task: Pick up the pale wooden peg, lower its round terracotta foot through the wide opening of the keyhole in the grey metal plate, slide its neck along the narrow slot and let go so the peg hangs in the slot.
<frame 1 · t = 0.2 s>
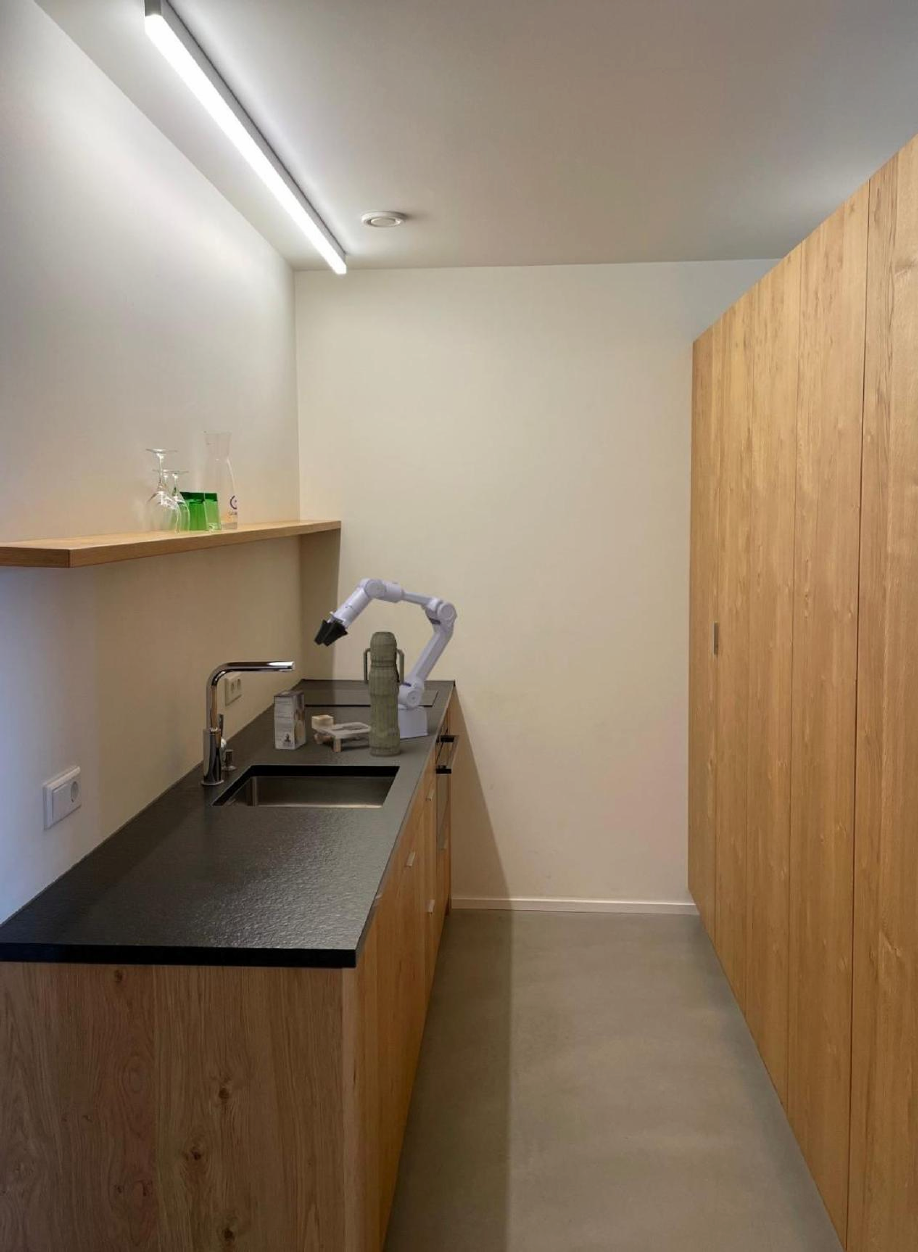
hand: (320, 643, 283), 31 cm above the counter, tool tilted 45°, fingers open, 7 cm apart
peg: (322, 738, 296), on the counter
thermos: (385, 753, 277), on the counter
coffee box: (290, 746, 287), on the counter
keyhole stand: (347, 744, 288), on the counter
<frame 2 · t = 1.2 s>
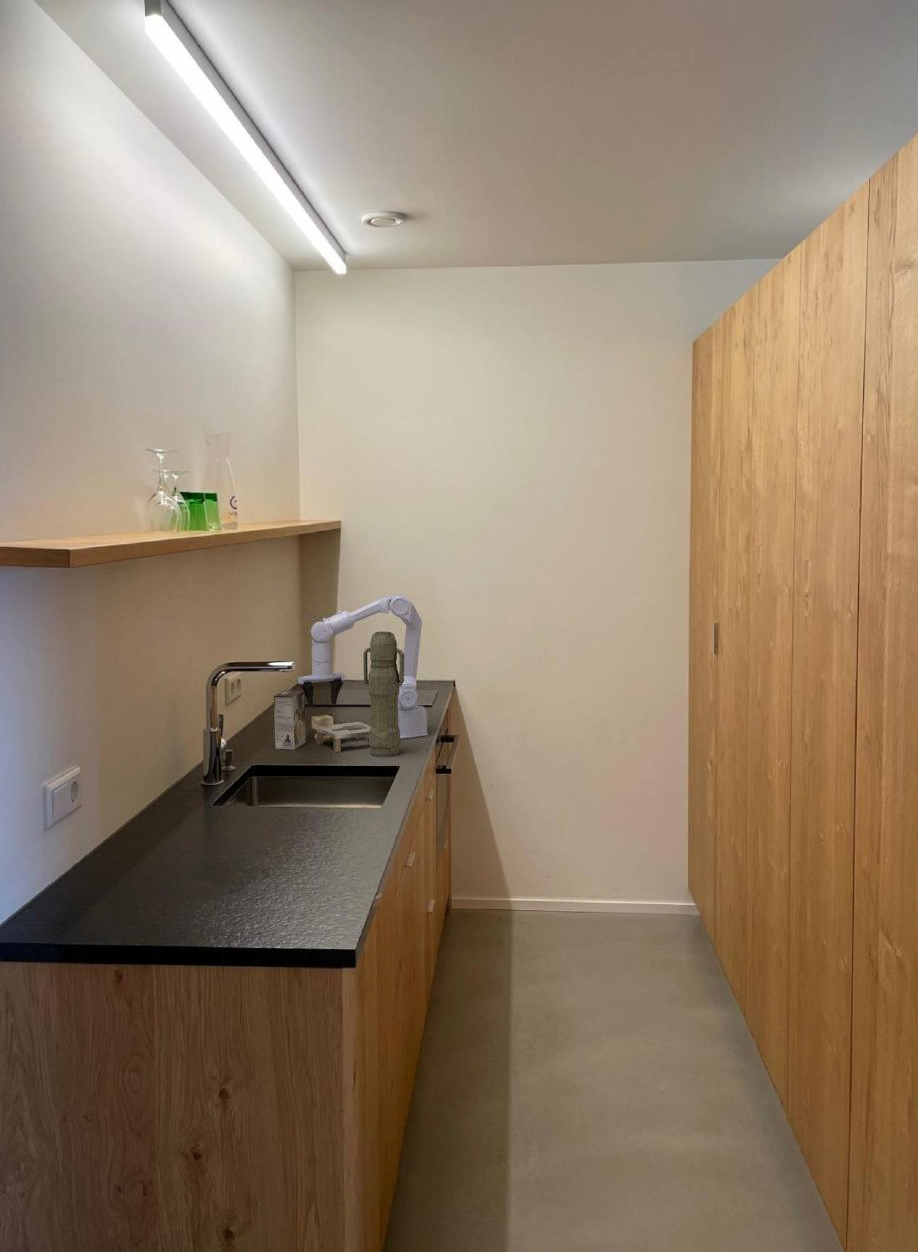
hand: (322, 705, 295), 10 cm above the counter, tool pointing down, fingers open, 7 cm apart
nothing on the counter moved.
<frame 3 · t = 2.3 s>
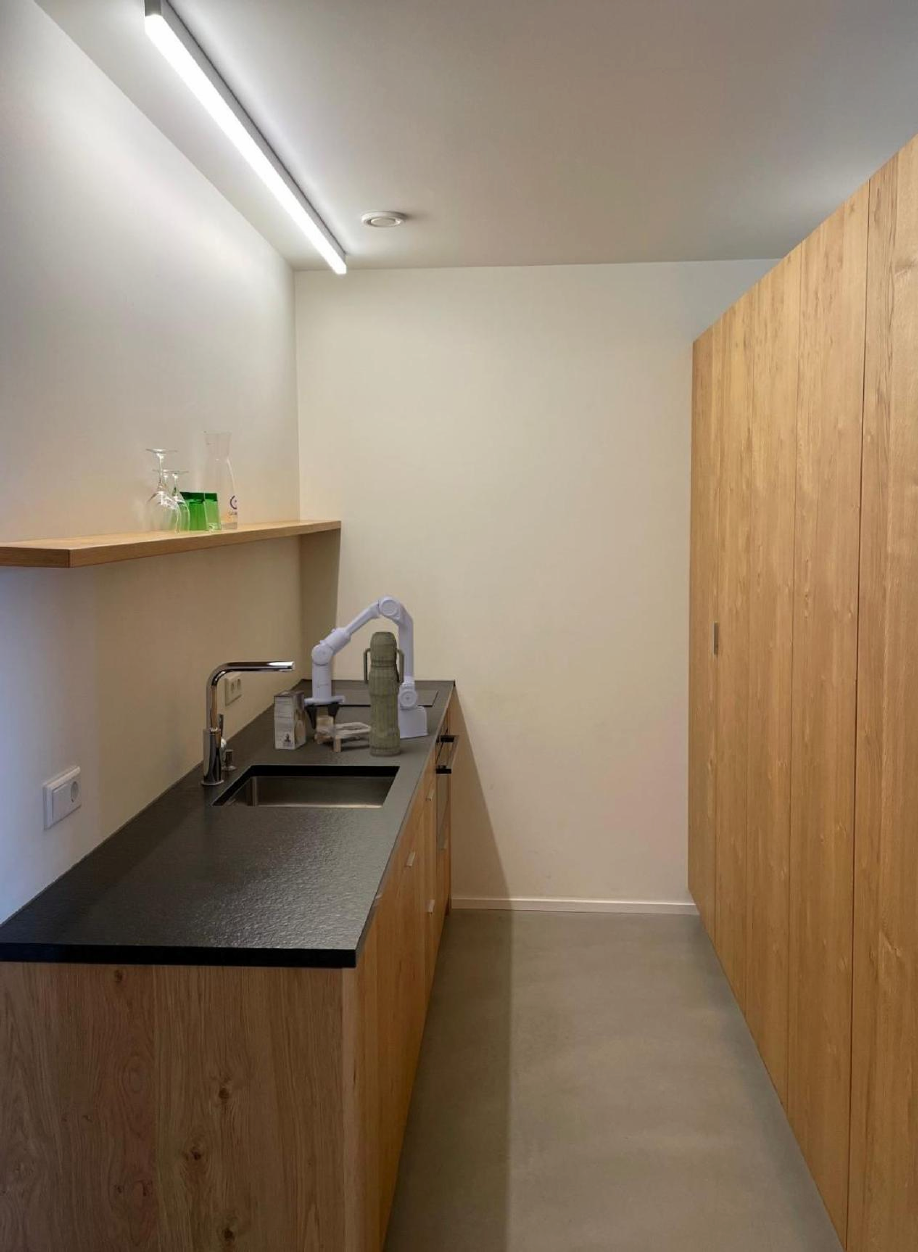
hand: (322, 727, 296), 3 cm above the counter, tool pointing down, fingers closed on peg, 5 cm apart
peg: (322, 738, 296), on the counter, touching gripper
everything else where it was.
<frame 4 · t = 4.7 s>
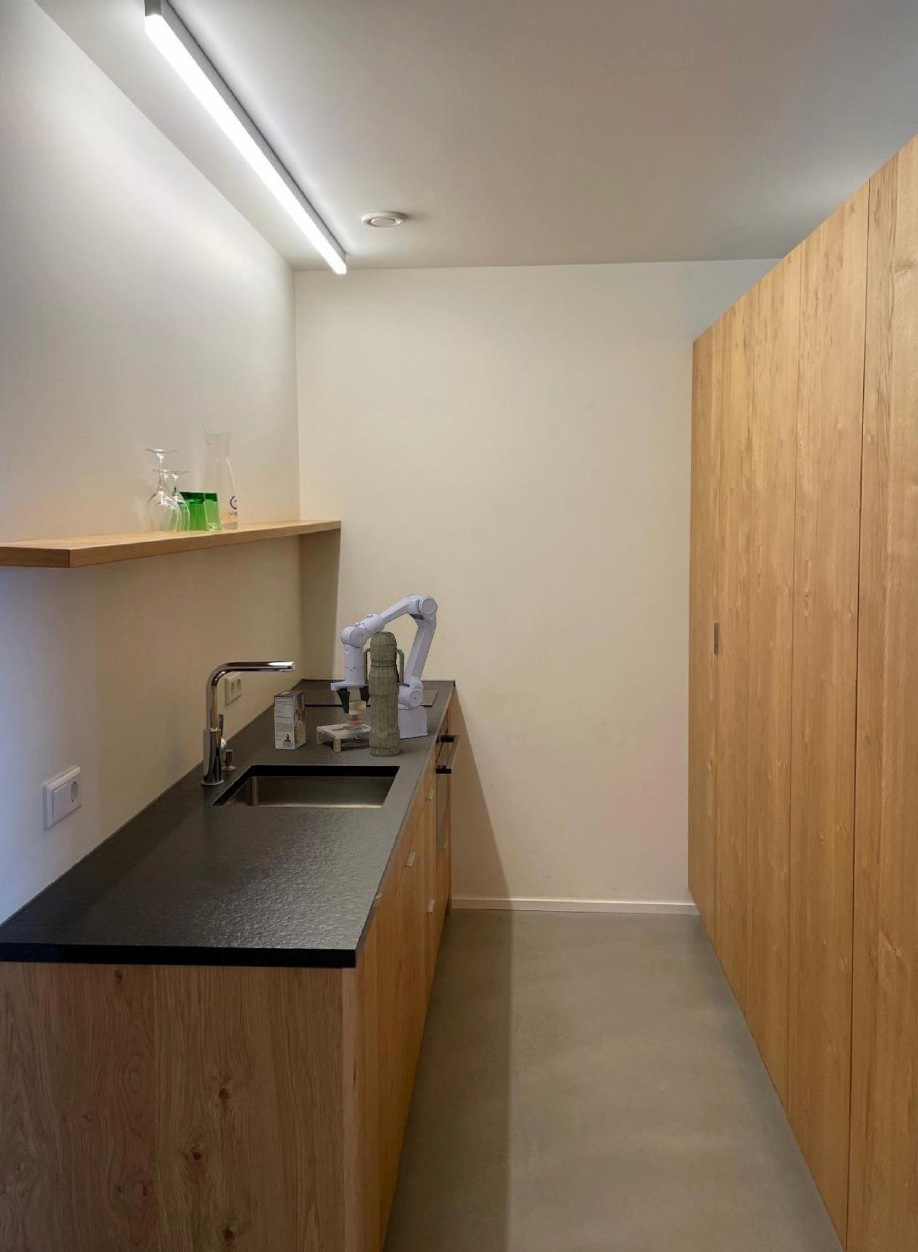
hand: (355, 712, 288), 10 cm above the counter, tool pointing down, fingers closed on peg, 5 cm apart
peg: (355, 723, 288), point 6 cm above the counter, touching gripper
everything else where it was.
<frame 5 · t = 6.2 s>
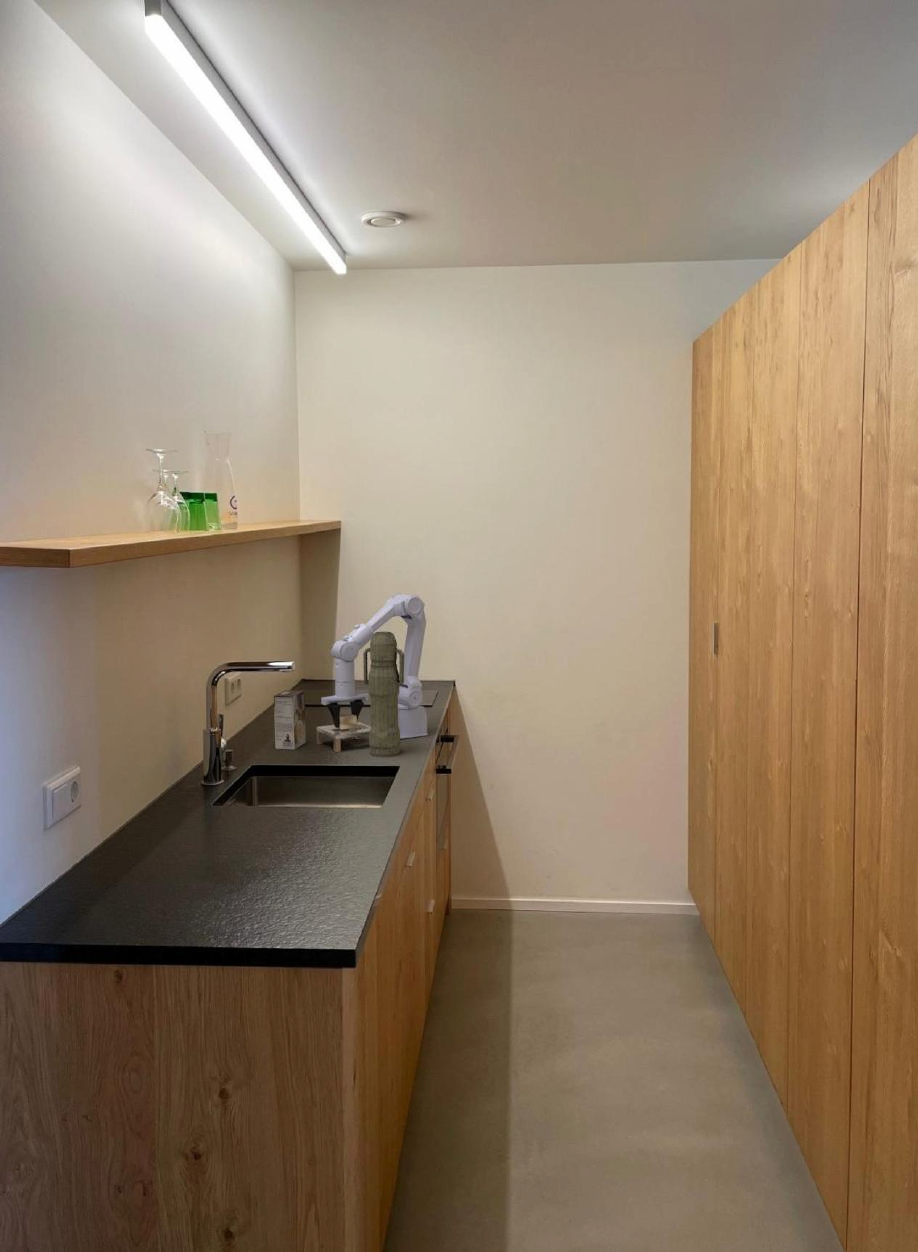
hand: (345, 726, 287), 6 cm above the counter, tool pointing down, fingers closed on peg, 5 cm apart
peg: (345, 737, 287), point 2 cm above the counter, touching gripper
everything else where it was.
when the fingers open (6 cm above the counter, at t = 7.4 s): peg stays where it is, resting on keyhole stand.
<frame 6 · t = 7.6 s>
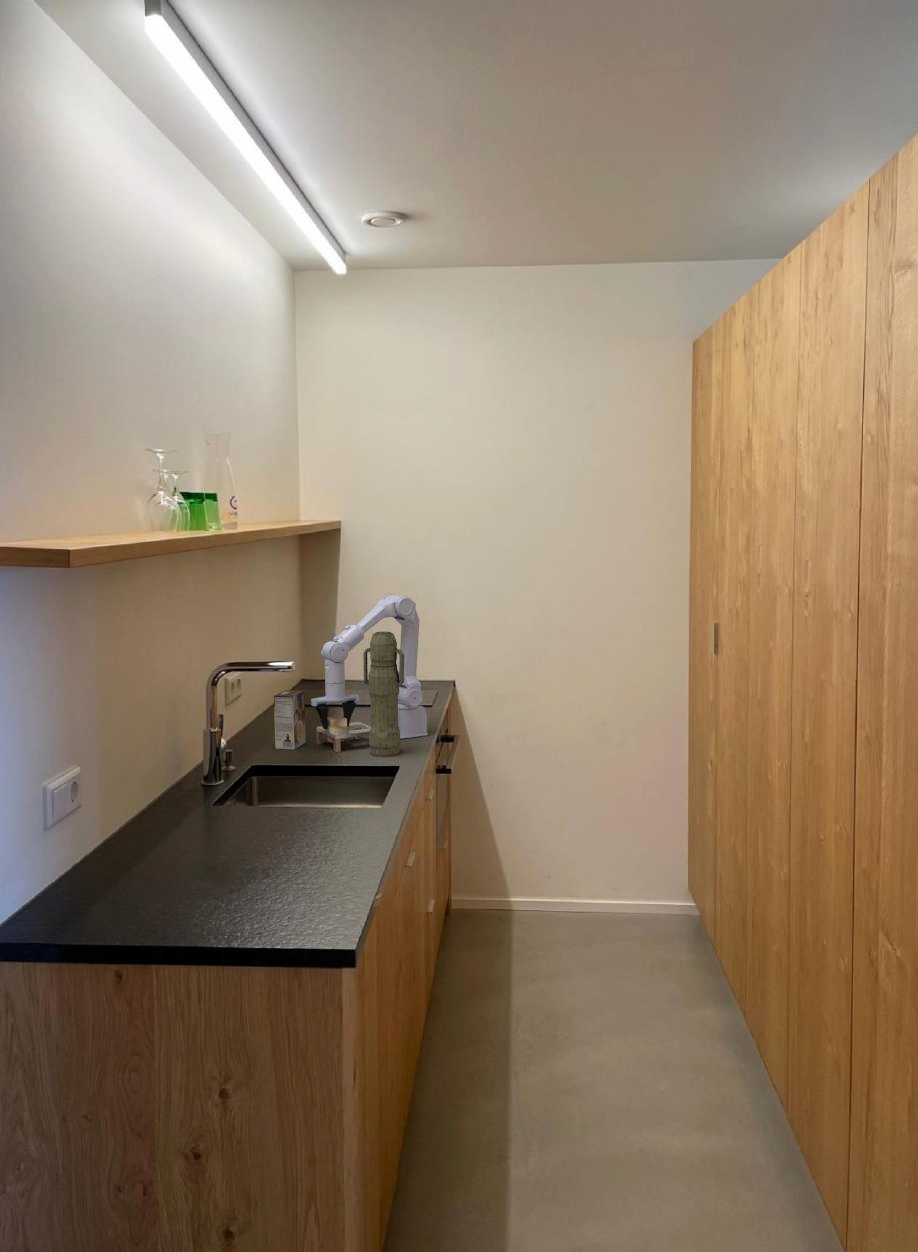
hand: (335, 727, 285), 6 cm above the counter, tool pointing down, fingers open, 6 cm apart
peg: (336, 740, 286), point 2 cm above the counter, touching keyhole stand
everything else where it was.
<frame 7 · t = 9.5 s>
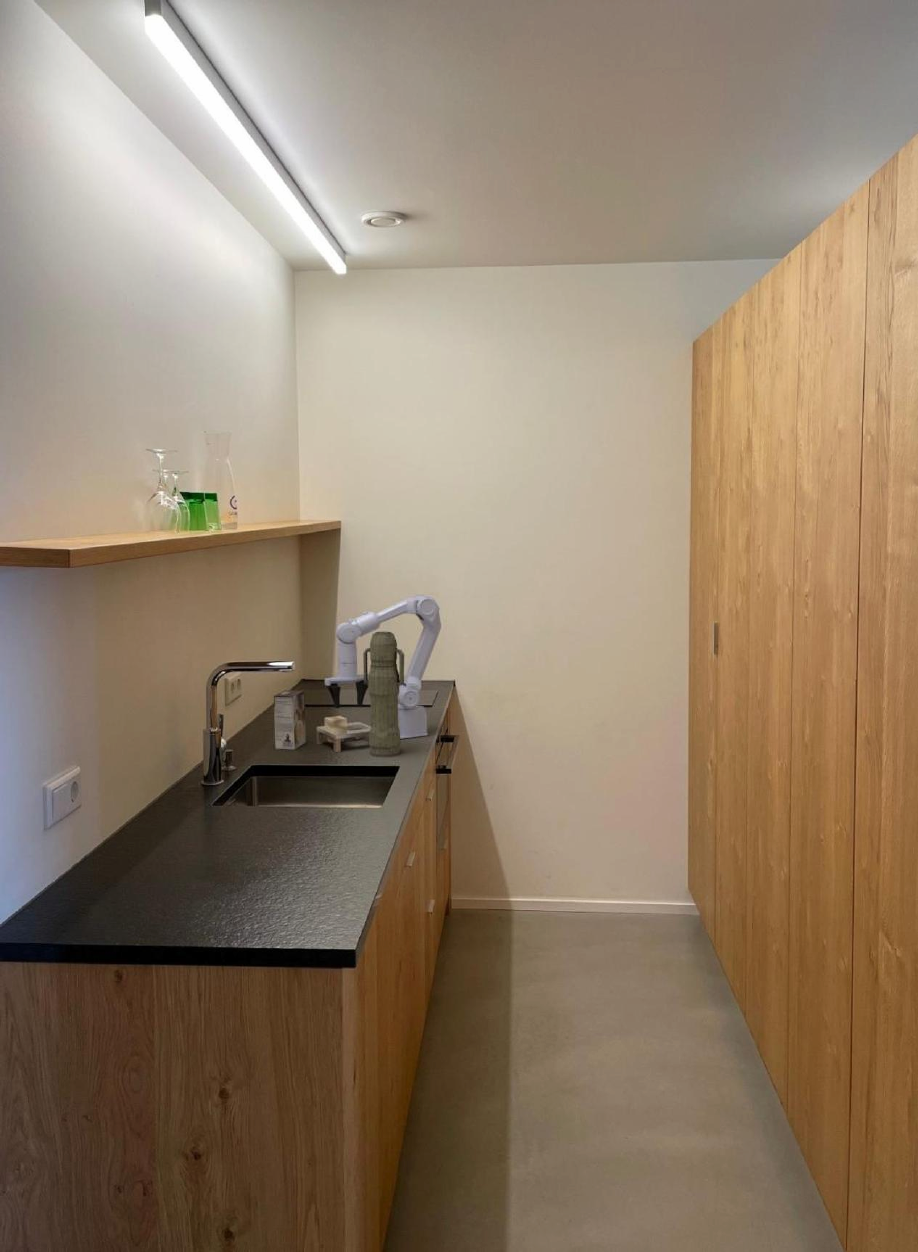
hand: (348, 706, 294), 10 cm above the counter, tool pointing down, fingers open, 7 cm apart
nothing on the counter moved.
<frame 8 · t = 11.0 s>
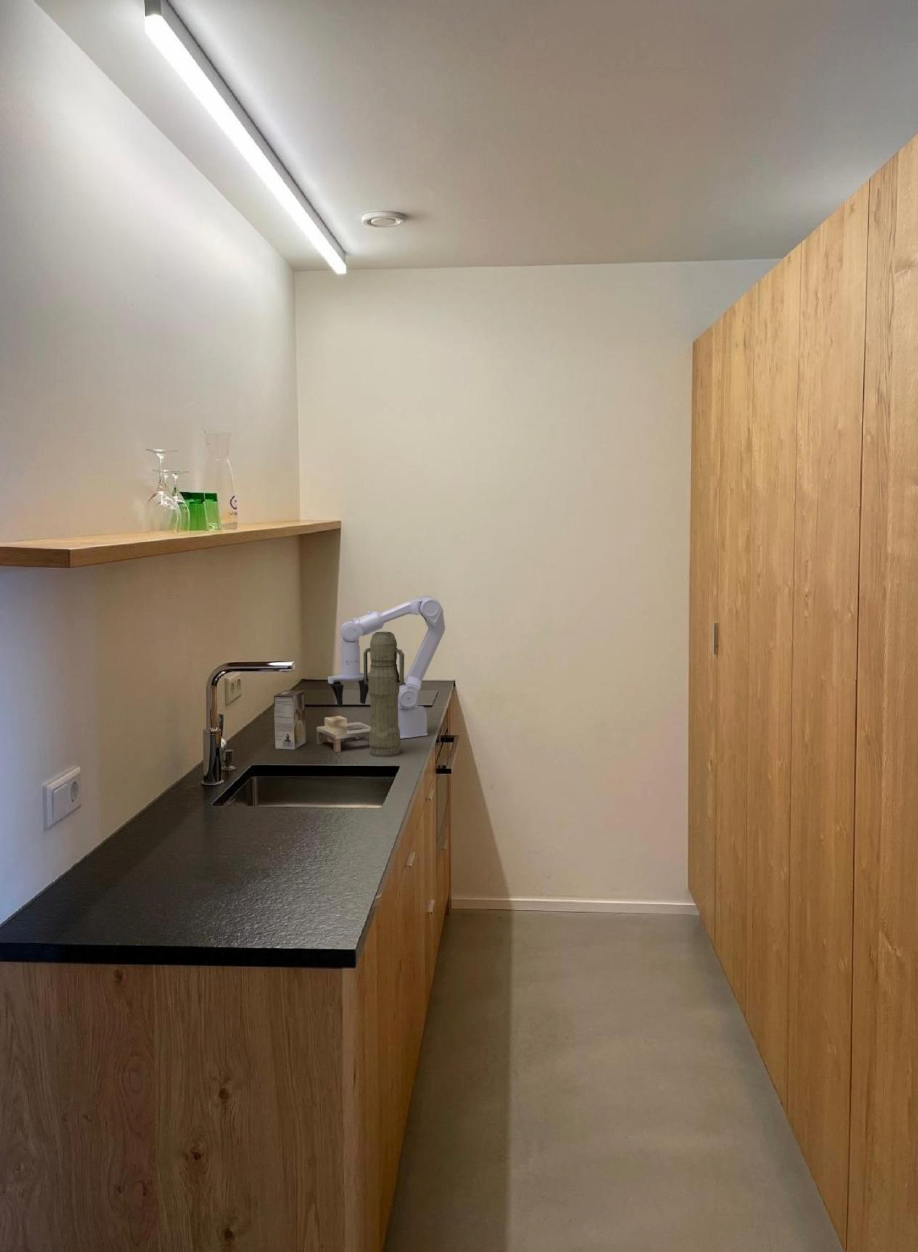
hand: (351, 704, 296), 10 cm above the counter, tool pointing down, fingers open, 7 cm apart
nothing on the counter moved.
at the end: peg 0.2 cm from the target spot on the keyhole stand, point 1.8 cm above the keyhole stand's base; the gripper is holding nothing; peg tilted 0° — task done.
